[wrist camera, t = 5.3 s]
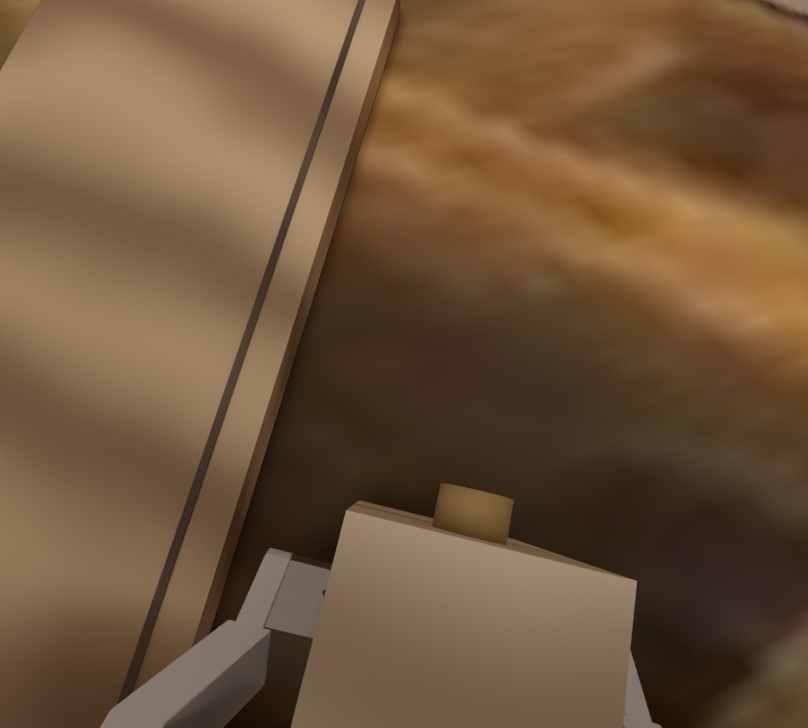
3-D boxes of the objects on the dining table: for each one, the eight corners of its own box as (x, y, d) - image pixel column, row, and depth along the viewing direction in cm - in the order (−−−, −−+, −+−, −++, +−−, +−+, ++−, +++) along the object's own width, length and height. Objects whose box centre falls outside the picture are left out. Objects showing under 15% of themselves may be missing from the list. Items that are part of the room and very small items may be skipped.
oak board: (176, 740, 13) (151, 773, 12) (-256, 635, 13) (-338, 654, 12) (399, 18, 20) (401, -21, 18) (115, -52, 20) (94, -97, 18)
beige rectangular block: (472, 696, 14) (599, 958, 6) (319, 659, 14) (253, 873, 6) (504, 508, 15) (642, 526, 7) (366, 474, 15) (359, 457, 7)
